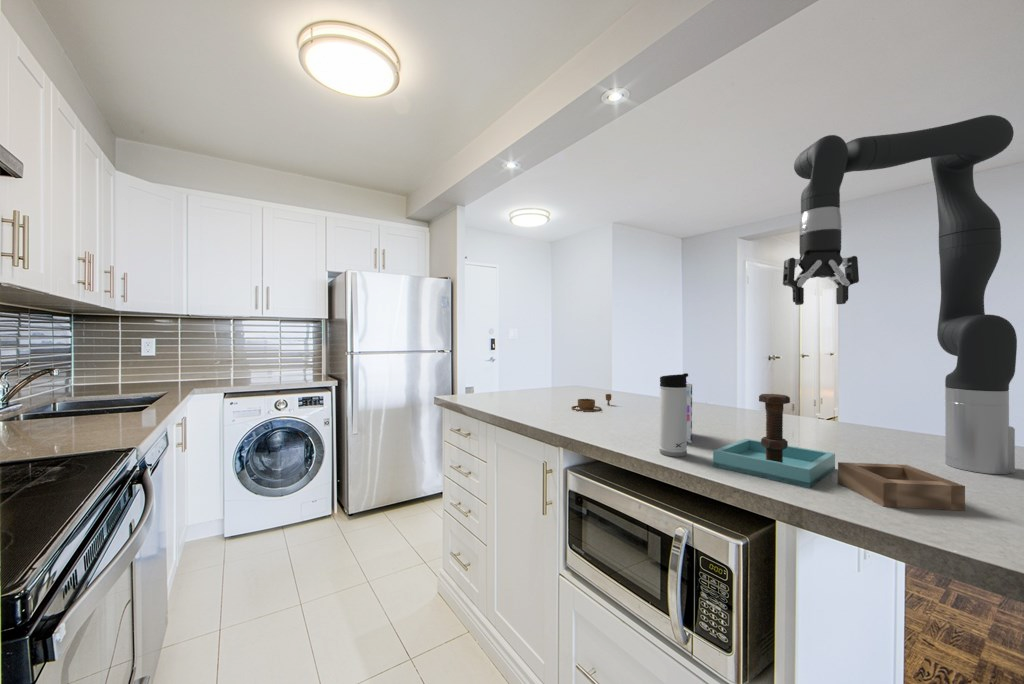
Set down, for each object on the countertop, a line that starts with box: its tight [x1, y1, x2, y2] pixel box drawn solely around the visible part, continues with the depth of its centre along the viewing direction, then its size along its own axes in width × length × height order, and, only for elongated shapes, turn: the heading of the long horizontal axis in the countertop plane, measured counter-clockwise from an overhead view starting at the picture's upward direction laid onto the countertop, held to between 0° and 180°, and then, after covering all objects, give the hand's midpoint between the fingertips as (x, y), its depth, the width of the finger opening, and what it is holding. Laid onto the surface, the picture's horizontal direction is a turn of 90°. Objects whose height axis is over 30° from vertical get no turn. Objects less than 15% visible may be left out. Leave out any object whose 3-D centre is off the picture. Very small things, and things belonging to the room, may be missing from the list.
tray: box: [712, 438, 836, 489], centre depth 91 cm, size 18×18×4 cm
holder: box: [837, 461, 966, 511], centre depth 75 cm, size 12×12×4 cm
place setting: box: [571, 393, 612, 414], centre depth 169 cm, size 18×20×6 cm
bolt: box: [758, 393, 791, 463], centre depth 91 cm, size 6×5×15 cm
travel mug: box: [659, 372, 689, 458], centre depth 103 cm, size 6×7×20 cm
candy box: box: [686, 382, 693, 444], centre depth 120 cm, size 14×6×16 cm, turn 170°
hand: (819, 304), depth 93 cm, fingers open, 8 cm apart
